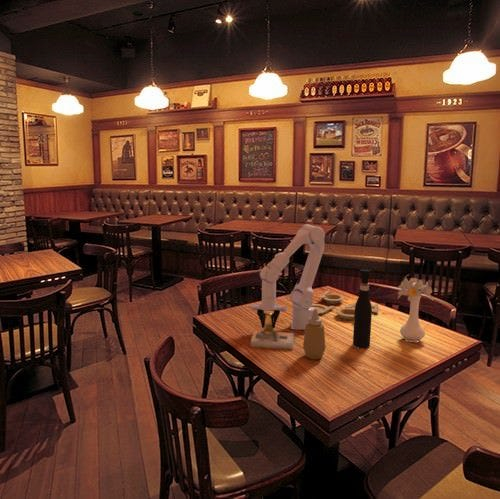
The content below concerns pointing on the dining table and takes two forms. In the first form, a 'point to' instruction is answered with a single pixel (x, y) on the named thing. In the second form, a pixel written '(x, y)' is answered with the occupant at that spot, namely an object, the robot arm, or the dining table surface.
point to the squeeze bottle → (314, 337)
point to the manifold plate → (272, 340)
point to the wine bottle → (363, 313)
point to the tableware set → (344, 312)
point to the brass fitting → (268, 321)
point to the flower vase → (413, 308)
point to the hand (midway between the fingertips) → (268, 327)
